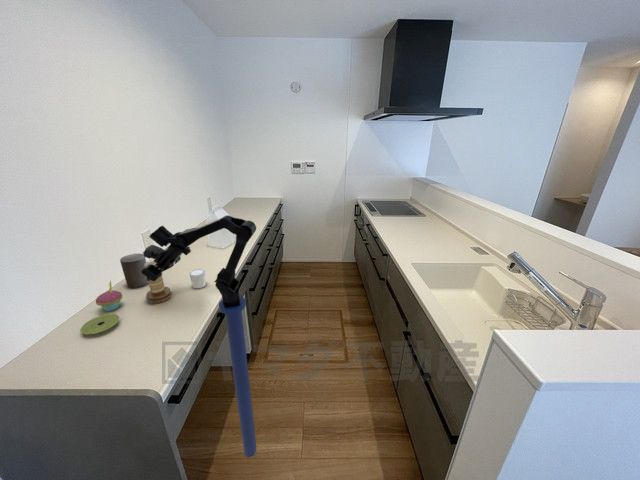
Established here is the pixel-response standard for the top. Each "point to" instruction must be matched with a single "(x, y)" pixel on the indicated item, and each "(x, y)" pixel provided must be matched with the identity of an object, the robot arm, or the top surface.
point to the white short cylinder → (198, 278)
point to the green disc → (99, 324)
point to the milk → (221, 236)
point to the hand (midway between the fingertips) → (151, 276)
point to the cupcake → (109, 299)
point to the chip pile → (158, 296)
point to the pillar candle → (134, 270)
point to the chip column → (158, 284)
